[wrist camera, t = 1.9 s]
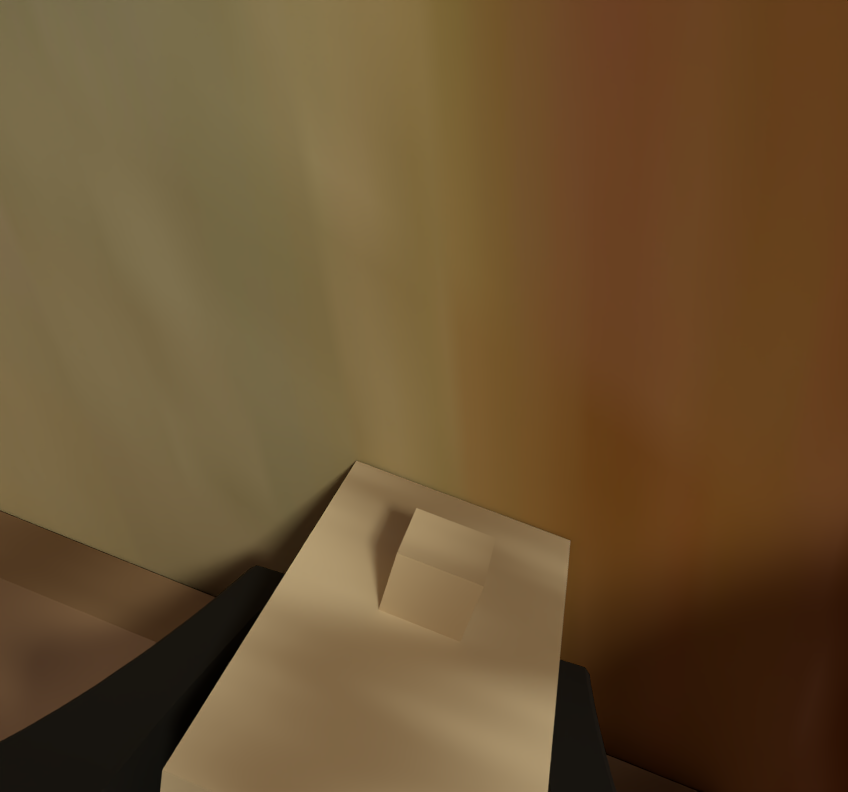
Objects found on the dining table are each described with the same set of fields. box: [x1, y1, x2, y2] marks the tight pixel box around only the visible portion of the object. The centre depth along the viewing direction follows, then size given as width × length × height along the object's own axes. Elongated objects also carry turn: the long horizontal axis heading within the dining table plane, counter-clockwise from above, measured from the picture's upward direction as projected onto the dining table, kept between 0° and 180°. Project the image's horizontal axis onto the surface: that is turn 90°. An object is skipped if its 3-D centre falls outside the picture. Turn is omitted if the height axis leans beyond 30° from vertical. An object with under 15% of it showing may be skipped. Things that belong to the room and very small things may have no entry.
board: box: [0, 511, 698, 792], centre depth 16 cm, size 18×8×2 cm, turn 75°
